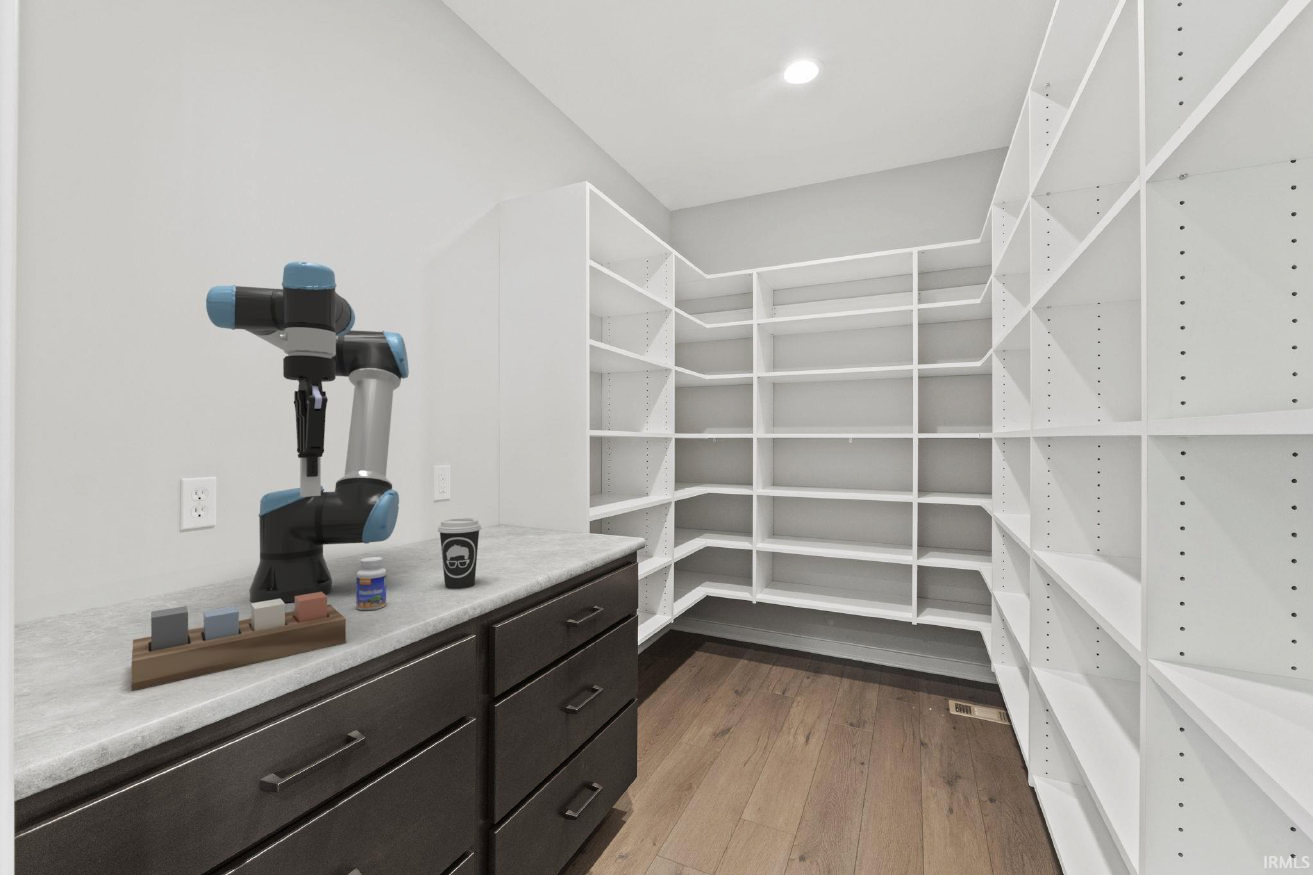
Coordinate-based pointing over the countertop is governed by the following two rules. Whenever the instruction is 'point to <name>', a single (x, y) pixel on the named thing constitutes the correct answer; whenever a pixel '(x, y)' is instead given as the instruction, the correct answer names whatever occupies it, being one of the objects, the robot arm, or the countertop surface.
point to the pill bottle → (371, 584)
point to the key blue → (221, 623)
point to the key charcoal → (169, 628)
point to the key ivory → (267, 614)
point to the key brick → (310, 607)
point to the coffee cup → (459, 551)
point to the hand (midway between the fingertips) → (310, 495)
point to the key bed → (233, 649)
